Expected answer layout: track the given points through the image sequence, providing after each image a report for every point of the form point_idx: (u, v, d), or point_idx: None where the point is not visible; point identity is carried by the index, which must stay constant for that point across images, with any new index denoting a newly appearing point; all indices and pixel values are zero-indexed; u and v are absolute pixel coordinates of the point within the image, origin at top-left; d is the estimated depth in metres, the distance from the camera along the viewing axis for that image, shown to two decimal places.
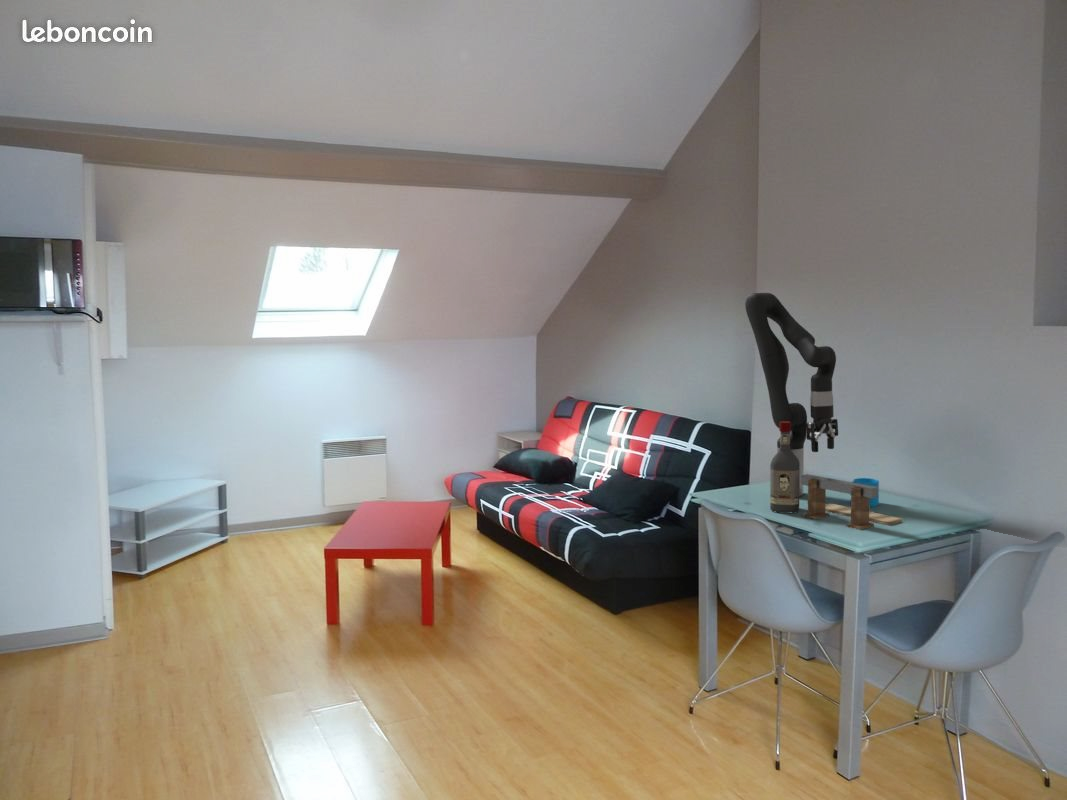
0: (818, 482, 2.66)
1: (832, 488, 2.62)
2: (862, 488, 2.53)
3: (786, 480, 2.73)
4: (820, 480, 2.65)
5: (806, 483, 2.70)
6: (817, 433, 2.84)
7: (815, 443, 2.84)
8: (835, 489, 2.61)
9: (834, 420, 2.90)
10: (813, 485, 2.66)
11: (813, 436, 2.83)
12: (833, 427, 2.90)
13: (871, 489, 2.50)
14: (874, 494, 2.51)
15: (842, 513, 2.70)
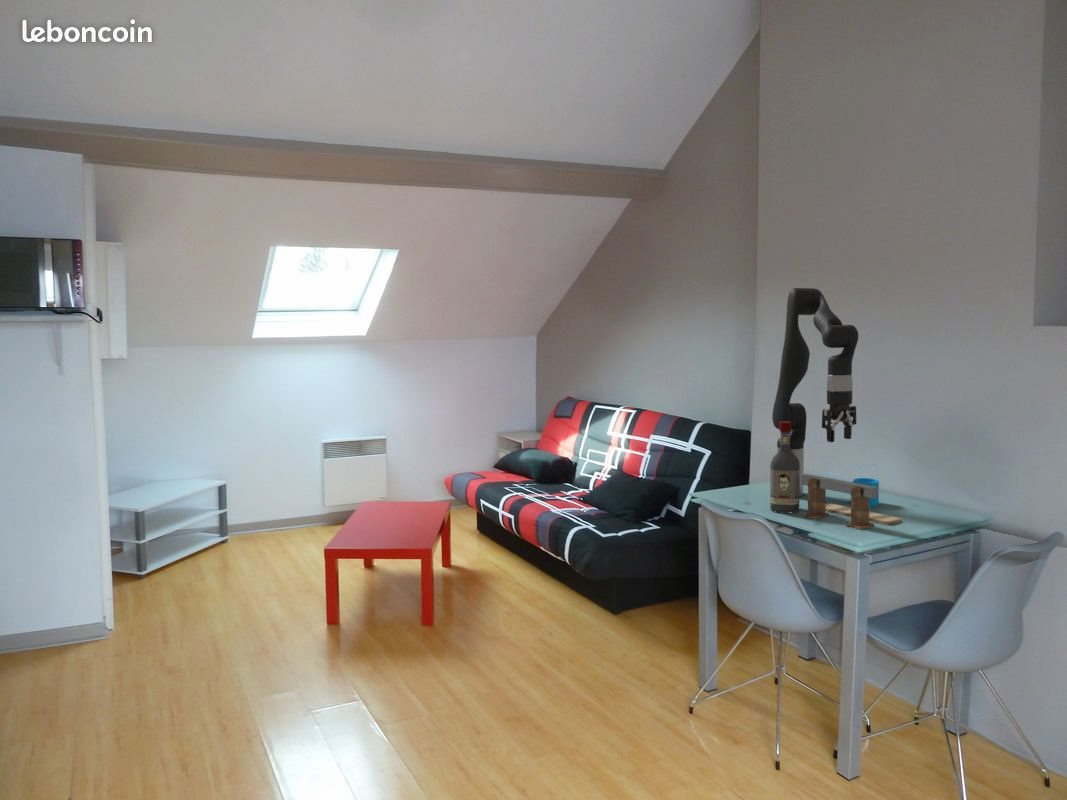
0: (818, 482, 2.66)
1: (832, 488, 2.62)
2: (862, 488, 2.53)
3: (786, 480, 2.73)
4: (820, 480, 2.65)
5: (806, 483, 2.70)
6: (834, 421, 2.56)
7: (831, 432, 2.56)
8: (835, 489, 2.61)
9: (852, 407, 2.61)
10: (813, 485, 2.66)
11: (829, 424, 2.55)
12: (851, 415, 2.62)
13: (871, 489, 2.50)
14: (874, 494, 2.51)
15: (842, 513, 2.70)
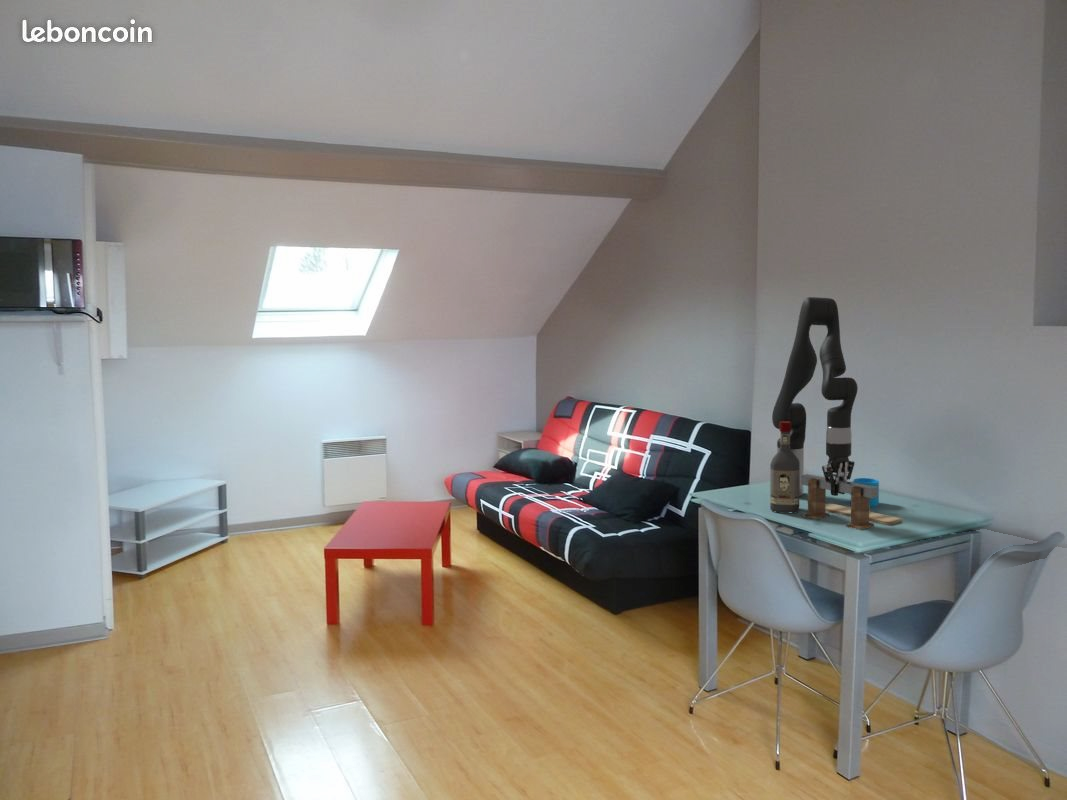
0: (818, 482, 2.66)
1: None
2: (862, 488, 2.53)
3: (786, 480, 2.73)
4: (820, 480, 2.65)
5: (806, 483, 2.70)
6: (835, 475, 2.59)
7: (835, 486, 2.60)
8: None
9: (851, 462, 2.63)
10: (813, 485, 2.66)
11: (833, 479, 2.58)
12: (847, 469, 2.63)
13: (871, 489, 2.50)
14: (874, 494, 2.51)
15: (842, 513, 2.70)
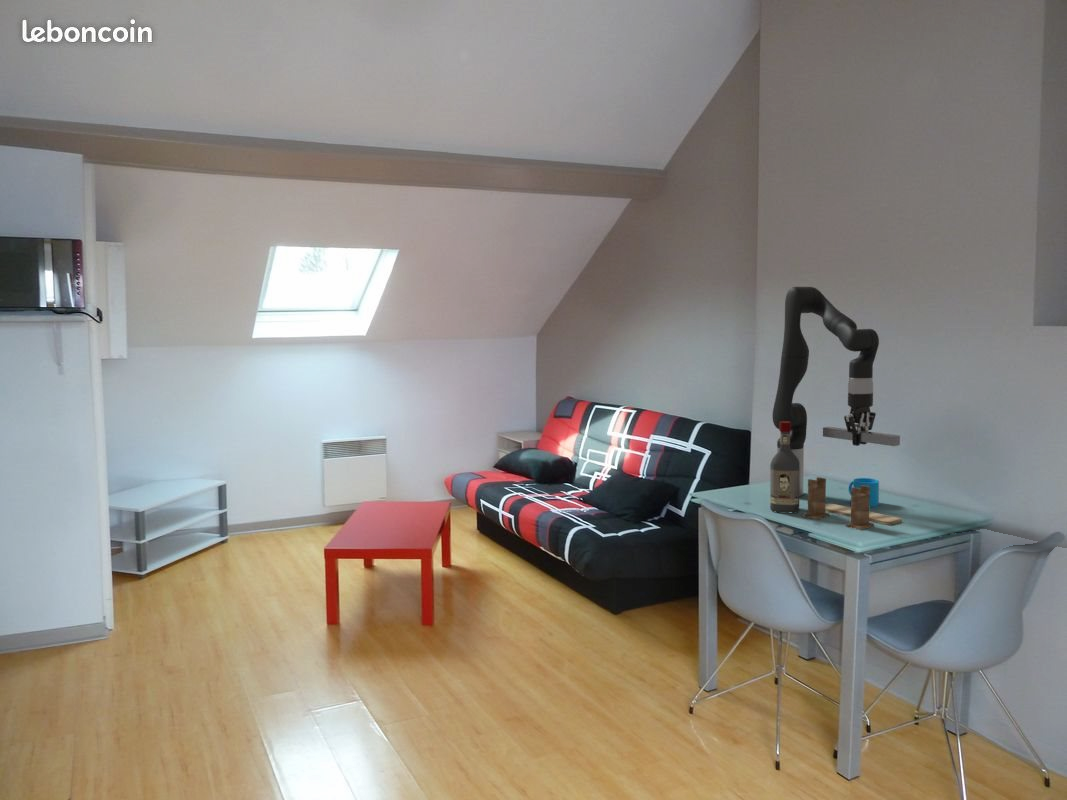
0: (840, 433, 2.70)
1: None
2: (884, 437, 2.57)
3: (786, 480, 2.73)
4: (842, 431, 2.70)
5: (828, 435, 2.74)
6: (857, 425, 2.64)
7: (857, 436, 2.64)
8: None
9: (872, 413, 2.68)
10: (813, 485, 2.66)
11: (855, 428, 2.63)
12: (869, 420, 2.68)
13: (893, 437, 2.55)
14: (896, 442, 2.55)
15: (842, 513, 2.70)
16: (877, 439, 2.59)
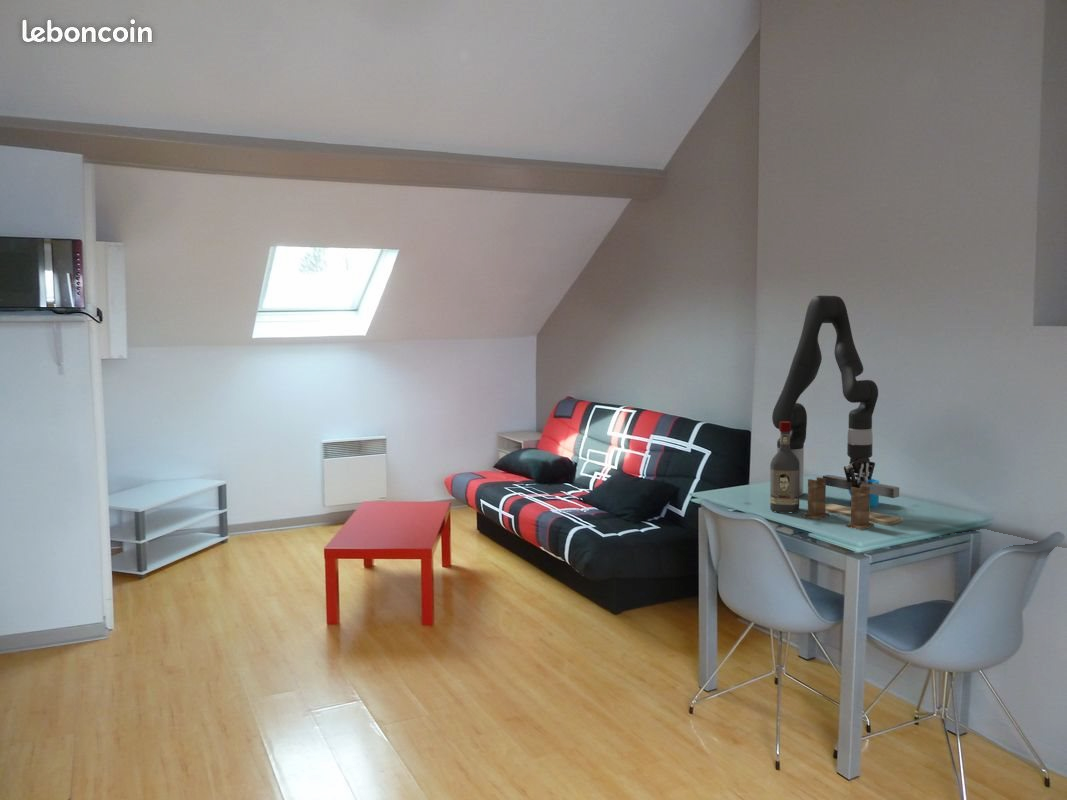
0: (839, 482, 2.72)
1: None
2: (884, 488, 2.59)
3: (786, 480, 2.73)
4: (841, 480, 2.71)
5: (827, 483, 2.76)
6: (857, 476, 2.65)
7: (856, 486, 2.66)
8: None
9: (872, 463, 2.70)
10: (813, 485, 2.66)
11: (855, 479, 2.64)
12: (868, 470, 2.70)
13: (893, 489, 2.56)
14: (895, 494, 2.57)
15: (842, 513, 2.70)
16: (877, 491, 2.61)
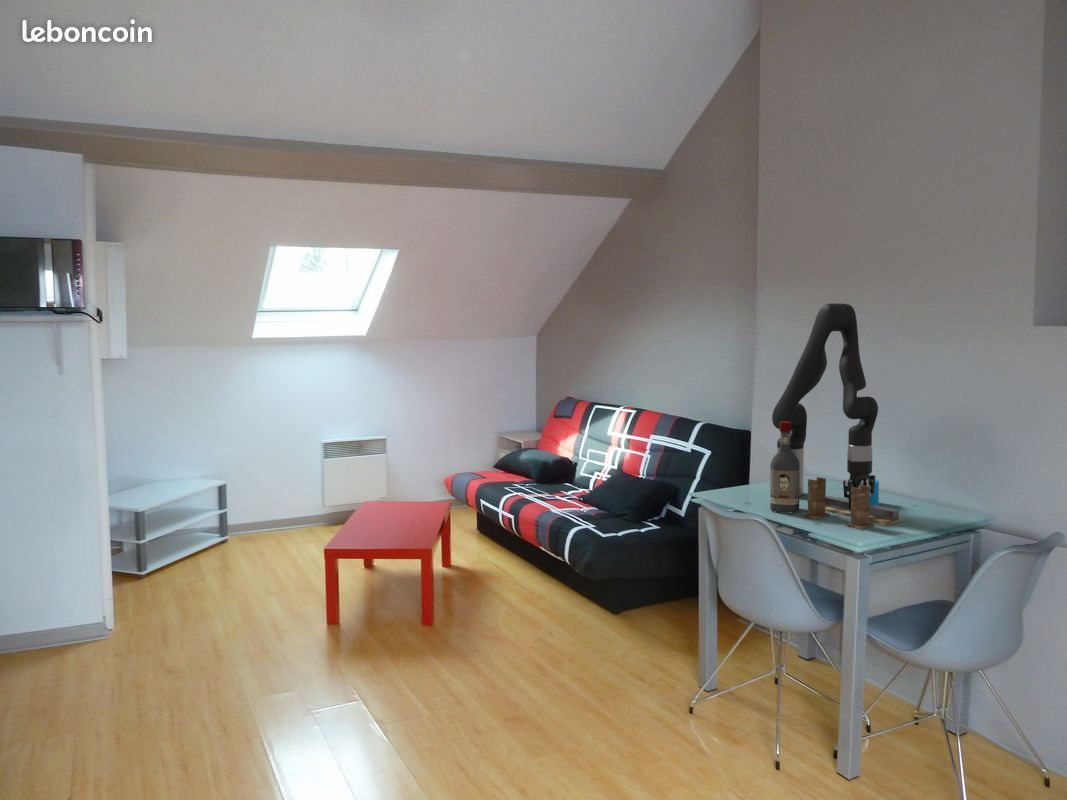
0: (839, 504, 2.73)
1: None
2: (883, 511, 2.60)
3: (786, 480, 2.73)
4: (841, 502, 2.72)
5: (827, 505, 2.77)
6: None
7: None
8: None
9: (872, 476, 2.70)
10: (813, 485, 2.66)
11: None
12: (870, 484, 2.71)
13: (892, 512, 2.57)
14: (895, 517, 2.58)
15: (842, 513, 2.70)
16: (876, 513, 2.62)
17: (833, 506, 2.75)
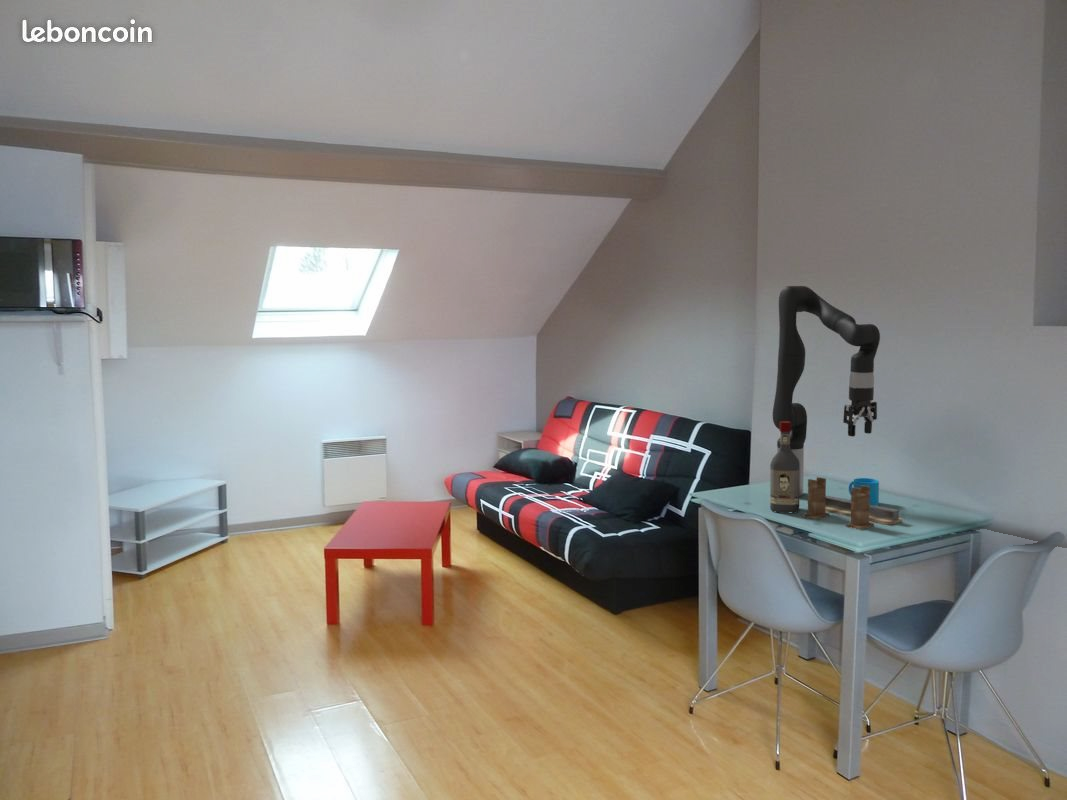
0: (839, 504, 2.73)
1: None
2: (883, 511, 2.60)
3: (786, 480, 2.73)
4: (841, 502, 2.72)
5: (827, 505, 2.77)
6: (855, 416, 2.67)
7: (852, 427, 2.67)
8: None
9: (873, 403, 2.72)
10: (813, 485, 2.66)
11: (851, 420, 2.66)
12: (872, 410, 2.73)
13: (892, 512, 2.57)
14: (895, 517, 2.58)
15: (842, 513, 2.70)
16: (876, 513, 2.62)
17: (833, 506, 2.75)
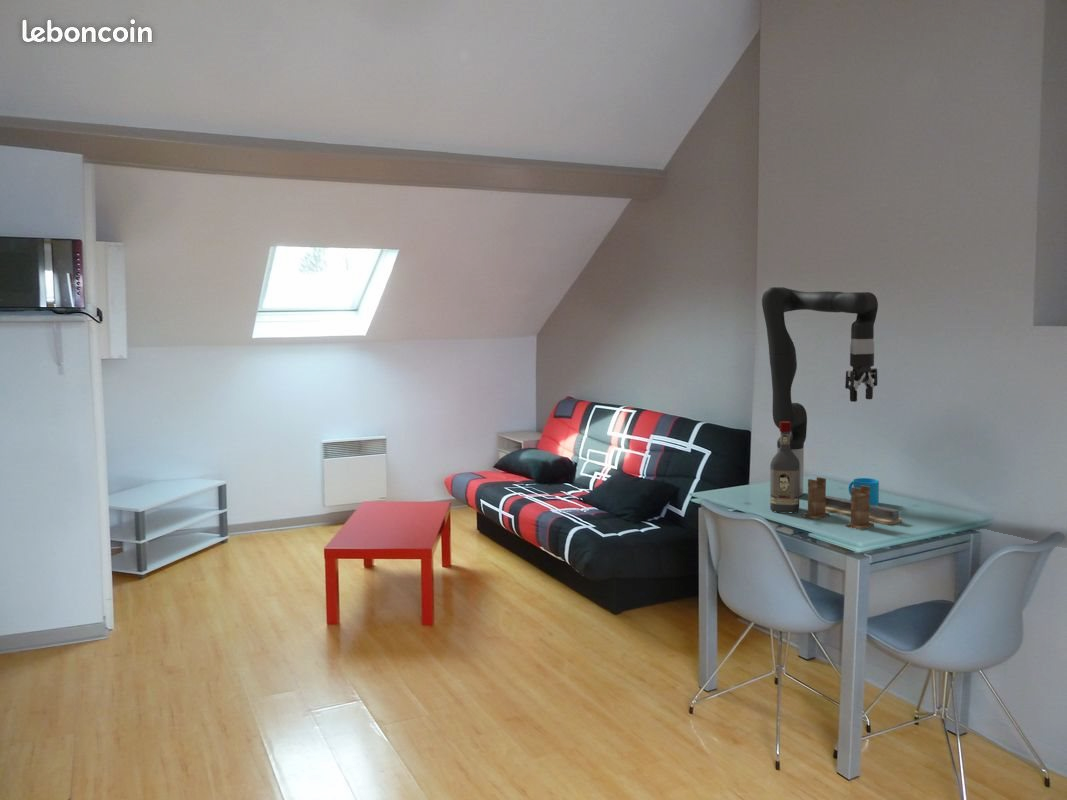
0: (839, 504, 2.73)
1: None
2: (883, 511, 2.60)
3: (786, 480, 2.73)
4: (841, 502, 2.72)
5: (827, 505, 2.77)
6: (856, 382, 2.75)
7: (854, 392, 2.74)
8: None
9: (874, 369, 2.80)
10: (813, 485, 2.66)
11: (852, 385, 2.73)
12: (872, 377, 2.80)
13: (892, 512, 2.57)
14: (895, 517, 2.58)
15: (842, 513, 2.70)
16: (876, 513, 2.62)
17: (833, 506, 2.75)
